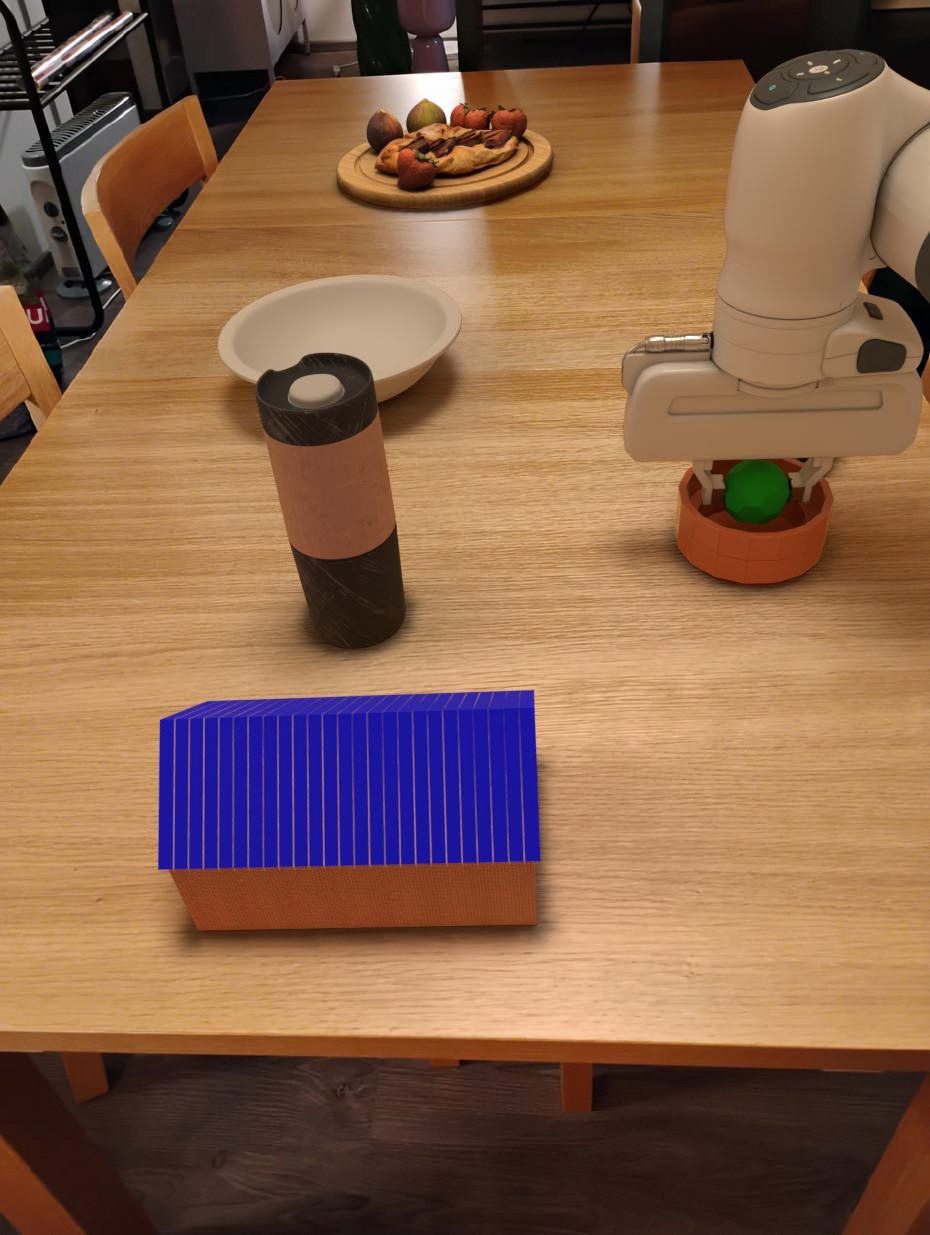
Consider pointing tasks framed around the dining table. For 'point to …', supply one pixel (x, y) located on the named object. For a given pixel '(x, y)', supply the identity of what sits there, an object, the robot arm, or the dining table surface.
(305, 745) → the house
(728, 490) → the polyhedron
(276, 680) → the dining table surface
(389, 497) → the travel mug
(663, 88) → the dining table surface
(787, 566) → the dessert bowl
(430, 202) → the wooden plate
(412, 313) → the soup bowl
